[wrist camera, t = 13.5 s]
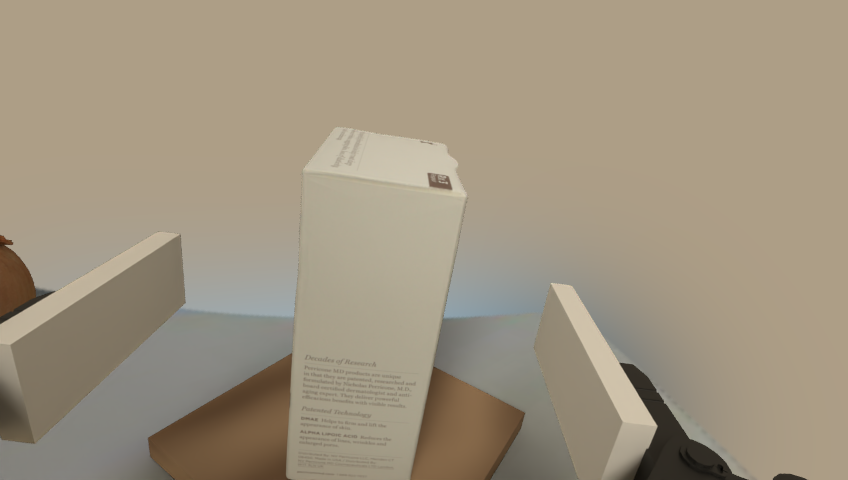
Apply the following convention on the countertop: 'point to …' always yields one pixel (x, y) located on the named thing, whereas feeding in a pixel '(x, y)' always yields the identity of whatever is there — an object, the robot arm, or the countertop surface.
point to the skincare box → (369, 302)
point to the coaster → (269, 417)
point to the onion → (13, 279)
